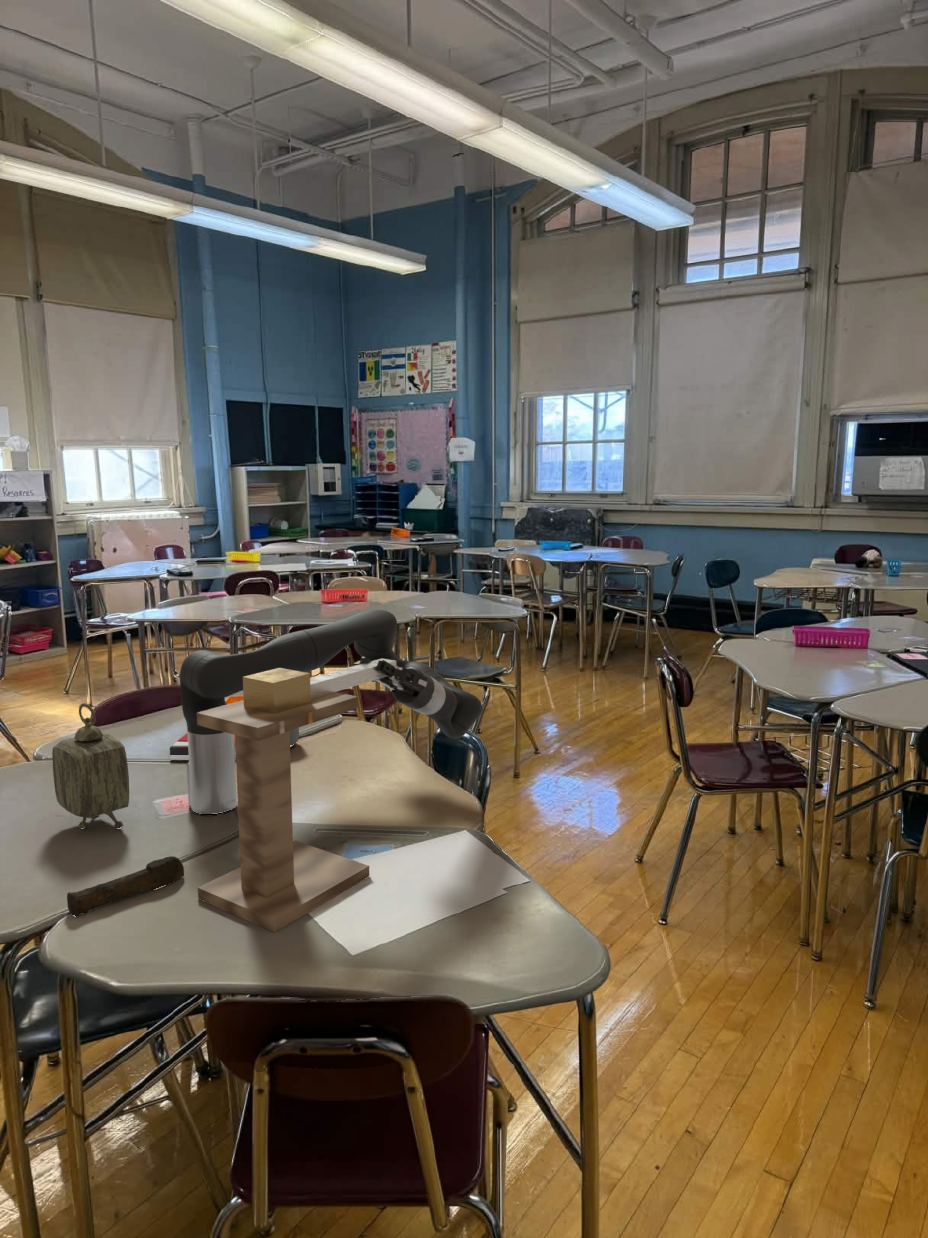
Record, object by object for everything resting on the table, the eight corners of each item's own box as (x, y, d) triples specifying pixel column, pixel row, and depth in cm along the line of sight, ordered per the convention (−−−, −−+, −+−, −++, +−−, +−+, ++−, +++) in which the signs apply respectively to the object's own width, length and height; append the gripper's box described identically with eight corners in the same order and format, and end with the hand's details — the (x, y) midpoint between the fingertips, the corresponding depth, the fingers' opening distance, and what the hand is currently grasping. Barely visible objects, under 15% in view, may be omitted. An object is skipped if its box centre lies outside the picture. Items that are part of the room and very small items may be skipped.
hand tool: (74, 923, 130) (72, 895, 129) (66, 913, 133) (64, 886, 132) (190, 884, 142) (189, 858, 142) (180, 876, 145) (179, 851, 145)
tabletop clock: (132, 829, 164) (124, 706, 160) (85, 844, 157) (76, 716, 153) (100, 810, 173) (91, 693, 169) (55, 822, 167) (45, 701, 163)
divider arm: (243, 707, 134) (242, 676, 133) (375, 670, 160) (374, 644, 159) (274, 714, 130) (273, 683, 129) (403, 674, 156) (403, 648, 156)
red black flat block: (230, 729, 218) (213, 744, 203) (231, 745, 219) (214, 761, 204) (188, 729, 218) (168, 744, 203) (189, 745, 219) (169, 761, 204)
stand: (198, 899, 137) (188, 710, 132) (295, 850, 155) (290, 683, 149) (274, 932, 127) (267, 730, 122) (369, 876, 145) (366, 698, 139)
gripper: (397, 669, 172) (347, 639, 158) (453, 678, 164) (406, 648, 150) (386, 704, 170) (335, 677, 156) (442, 715, 162) (393, 687, 148)
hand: (370, 663), depth 153 cm, fingers open, 3 cm apart
